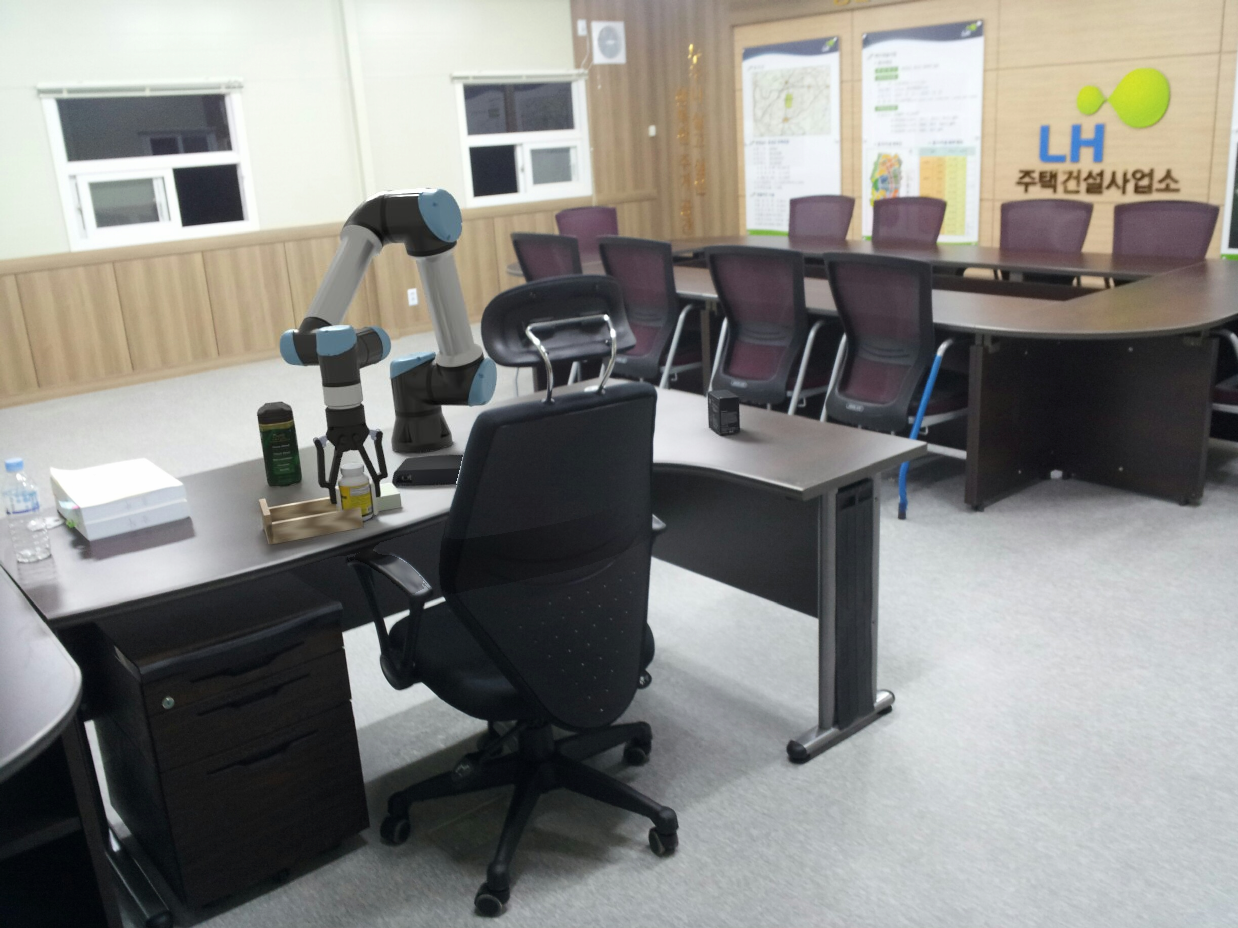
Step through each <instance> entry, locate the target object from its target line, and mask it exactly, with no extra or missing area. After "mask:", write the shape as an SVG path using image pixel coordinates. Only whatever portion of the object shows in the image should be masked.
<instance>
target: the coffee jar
mask: <svg viewBox="0 0 1238 928" xmlns="http://www.w3.org/2000/svg"><path fill="white" fill-rule="evenodd" d="M256 416H257V423H258V429H259V430H258V432H259V436H260V443H261V444H260V445H261V449H262V455H263V462H264V469H265V476H266V481H267V482H266V483H267V484H268V486H269V487H275V488H276V487H279V488H287V487H290V486H292V485H295V484H297V485H298V484H299V483H301V481H302V480H303V473H302V464H301V459H300V458H301V457H300V450H299V443H298V435H297V429H296V428H297V427H296V424H295V416H294V412H293V408H292V406H291V405H290V404H288V403H286V402H283V401H274V402H273V401H272V402H265V403H264V404H263V405H262V406H260V407H259V408H258V409H257V412H256Z"/></svg>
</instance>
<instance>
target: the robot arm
mask: <svg viewBox="0 0 1238 928" xmlns="http://www.w3.org/2000/svg"><path fill="white" fill-rule="evenodd" d="M462 223H463V217H462V212H461V208H460V206H459V205H458V202H457V200H456V198H455V197H454V196H453V195H452V194H451V193H450V192H448V191H447V190H446V189H443V188H431V187H424V188H416V189H415V188H414V189H401V190H400V189H398V190H397V189H396V190H393V189H392V190H382V191H379V192H376V193H374V194H373V195H371V196H369V197H368V198H367V199H365V200H364V201H363V202H362V203H360V204H359V205H358V206H357V207H356V208H355V209H354V210H353V212H352V213H351V214H350V215H349V216H348V218H347V220H346V221H345V222H344V224H343V226H342V228H341V230H340V232H339V239H340V243H339V245H338V248H336V252H335V254H334V256H333V258H332V259H331V261H330V263H329V266H328V268H327V270H326V272H325V274H324V276H323V278H322V280H321V282H320V284H319V287H318V288H317V291H316V293H315V294H314V297H313V299H312V300H311V303H310V305H309V307H308V308H307V311H306V313H305V316H304V317H303V320H302V321H301V323H300V326H299V327H298V328H292V329H288V330H286V331H284V332H283V333H282V335H281V336H280V338H279V339H280V340H279V352H280V355H281V358H282V359H283V360H284V361H285V362H286V363H287V364H288V365H291V366H301V367H310V366H312V367H313V366H314V367H315V366H316V367H317V366H319V371H320V377H321V387H322V394H323V396H322V397H323V403H324V405H325V406H326V407H325V409H324V411H325V420H326V427H327V429H326V432H325V435H322V436H320V437H317V436H316V437H314V438H313V439H312V442H313V444H314V446H315V449H316V465H317V467H316V468H317V483H318V485H319V487H320V488H321V489H328V497H330V501H331V503H332V505H333V504H336V507H337V511H339V510H342V504H341V496H340V489H339V487H338V485H337V483H338V479H339V478H338V477H339V472H340V467H341V462H342V460H343V459H342V457H343V455H344V453H347V452H350V451H352V452H353V451H354V452H355V451H358V453H359V455H360V457H361V459H362V461H363V464H364V466H365V467H366V469H367V472H368V473H369V476H370V478H371V480H369V481H370V491H371V500H372V510H373V515H374V516H376V515H378V514H379V511H378V510H377V502H376V497H380V496H381V490H380V484H381V483H380V482H381V481H382V480H384V479H387V478H388V477H389V473H388V469H387V468H388V467H387V462H386V458H385V453H384V448H383V444H382V443H383V438H384V437H383V436H384V433H383V431H382V430H381V429H379V428H376V429H373V428H369V427H368V425H367V421H366V419H367V418H366V412H365V405H364V404H363V401H364V395H363V388H362V380H361V373H360V372H361V371H360V370H361V369H363V368H367V367H368V366H373V365H377V364H378V363H380V362H381V361H383V360H385V359H387V357H388V356H389V355H390V353H391V349H392V341H391V338H390V336H389V334H388V332H387V331H385V329H383V328H381V327H379V326H375V325H371V326H364V327H362V328H355V327H353V326H352V325H346V324H343V323H344V320H345V318H346V316H347V314H348V312H349V310H350V307H351V306H352V303H353V301H354V299H355V297H356V295H357V293H358V290H359V288H360V286H361V284H362V282H363V280H364V277H365V275H366V273H367V271H368V268H369V267H370V265H371V262H372V260H373V259H374V258H375V257H378V256H379V255H380V254H381V253H382V250H383V248H384V247H385V246H387V245H390V244H404V247H405V250H406V251H405V252H406V254H407V256H409V257H410V258H412V259H414V260H415V263H416V266H417V270H418V271H417V272H418V273H419V274H418V275H419V278H420V281H421V286H422V289H423V293H424V296H425V298H424V299H425V301H426V302H425V303H426V305H427V309H428V313H429V318H430V320H431V321H430V322H431V324H432V328H433V332H434V336H435V340H436V344H437V348H438V352H437V353H436V352H435V351H432V350H426V351H421V352H420V351H419V352H415V353H408V354H406V355H403V356H399V357H397V358H395V359H393V360H392V361H391V362H390V363H389V380H390V385H391V393H392V400H393V407H394V408H393V409H394V416H395V417H394V418H395V420H394V422H393V423H394V424H393V429H392V434H391V441H390V442H391V448H392V450H393V451H395V452H398V453H403V454H404V453H405V454H417V453H428V452H433V451H437V450H441V449H444V448H446V447H449V446H451V445H452V443H453V434H452V431H451V429H450V427H449V424H448V423H447V420H446V418H445V416H444V414H443V407H442V406H449V407H450V406H451V407H452V406H455V407H456V406H457V407H458V406H459V407H462V406H463V407H471V408H472V407H477V406H479V407H481V406H485V405H488V404H489V403H490V401H491V400H492V398H493V397H494V394H495V391H496V387H497V380H498V371H497V369H498V368H497V365H496V362H495V361H494V360H493V359H492V358H490V357H484V351H483V348H482V346H480V345H479V344H477V343H476V342H475V340H474V337H473V336H474V335H473V332H472V328H471V323H470V320H469V319H470V318H469V316H468V310H467V307H466V302H465V298H464V295H463V289H462V286H461V281H460V279H459V274H458V270H457V265H456V260H455V257H454V253H453V252H454V251H455V249H456V247H457V246H458V239H459V238H460V237H461V236H462V231H463V225H462ZM491 359H492V360H493V361H494V362H495V363H494V362H493V361H492V360H491ZM369 436H370V439H371V440H372V441H373V445H374V449H375V454H376V455H375V456H376V460H377V465H378V470H379V472H377V471H376V469H375V467H374V464H373V463H372V460H371V458H370V455H369V454H368V452H367V450H366V447H365V446H364V444H365V442H366V440H367V439H368V437H369ZM327 442H329V443H330V444H332V446H333V447H334V449H333V456H332V462H331V466H330V471H329V474H328V475H329V476H328V480H327V479H326V478H327V477H326V476H327V475H326V460H325V458H326V456H325V449H324V448H326V447H327Z"/></svg>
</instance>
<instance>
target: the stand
mask: <svg viewBox="0 0 1238 928" xmlns="http://www.w3.org/2000/svg"><path fill="white" fill-rule="evenodd" d="M380 490H381V496H380V497H376V502H377V510H378V512H383V511H387V510H392V509H397V508H402V507H403V505H402V498H401V492H400V491H399V490H398V488H397V486H394V485H393V484H392V481H390V482H387V483H386V482H385V483H380Z"/></svg>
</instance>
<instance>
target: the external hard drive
mask: <svg viewBox="0 0 1238 928" xmlns="http://www.w3.org/2000/svg"><path fill="white" fill-rule="evenodd" d="M463 455H464V454H456V453H455V454H434V455H433V454H432V455H422V456H414V457H413V456H412V457H406V458H405V459H404V460H403V461H402V462H401V464H400V465H399V466H398V467H397V468H396V469H395V471H394V472H393V476H392V479H391V480H392V481H391V482H392V484H393V485H394V486H395V487H429V486H431V487H433V486H435V487H436V486H452V485H456V486H457V484H456V481H457V478H458V474H459V470H460V466H461V461H462V457H463Z"/></svg>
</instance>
